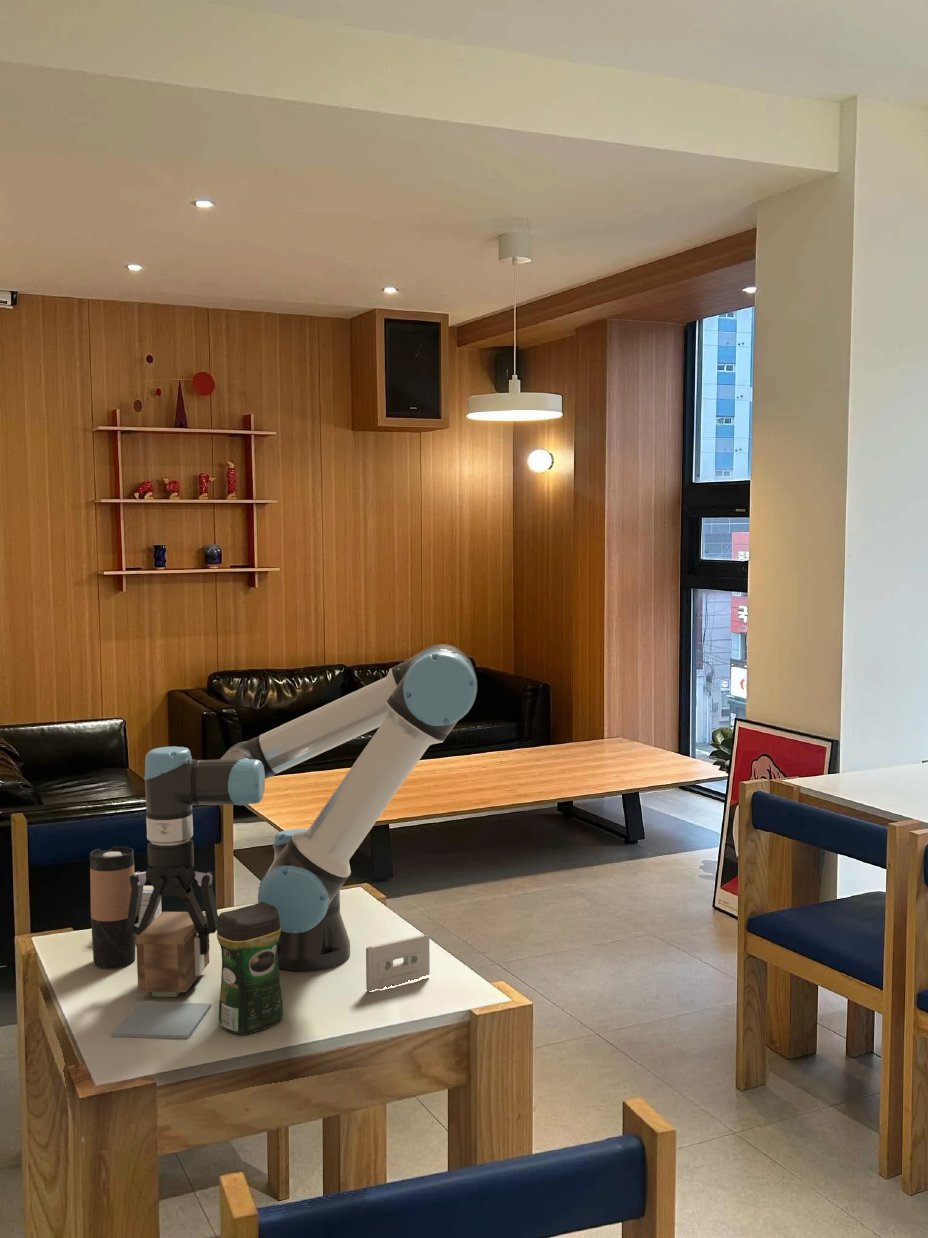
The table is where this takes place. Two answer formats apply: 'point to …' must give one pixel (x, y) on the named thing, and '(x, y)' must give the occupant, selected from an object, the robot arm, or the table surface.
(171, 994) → the sage green block
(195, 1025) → the slate mat
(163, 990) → the tan rectangular box
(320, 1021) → the table surface
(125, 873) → the travel mug
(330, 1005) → the table surface
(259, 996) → the coffee jar
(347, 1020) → the table surface
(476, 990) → the table surface
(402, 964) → the cassette
